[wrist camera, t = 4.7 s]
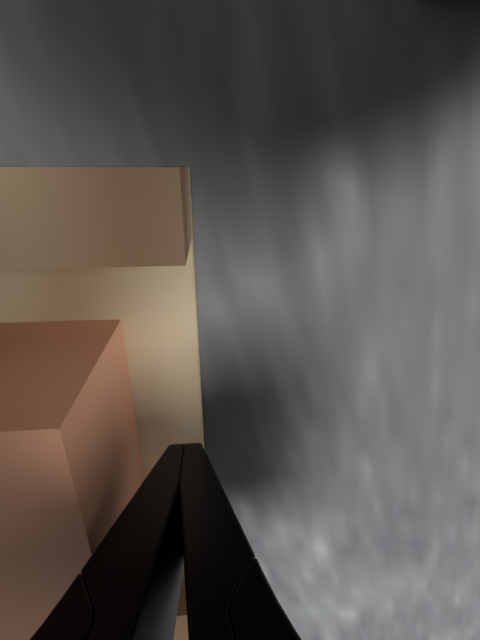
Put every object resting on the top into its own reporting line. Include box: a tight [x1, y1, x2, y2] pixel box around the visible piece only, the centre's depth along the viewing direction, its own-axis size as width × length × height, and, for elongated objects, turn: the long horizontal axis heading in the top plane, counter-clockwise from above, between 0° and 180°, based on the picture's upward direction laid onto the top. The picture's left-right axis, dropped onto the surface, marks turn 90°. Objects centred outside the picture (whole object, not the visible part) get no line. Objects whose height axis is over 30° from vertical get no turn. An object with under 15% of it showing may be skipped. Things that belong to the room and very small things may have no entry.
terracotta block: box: [0, 319, 145, 640], centre depth 8 cm, size 5×6×4 cm
